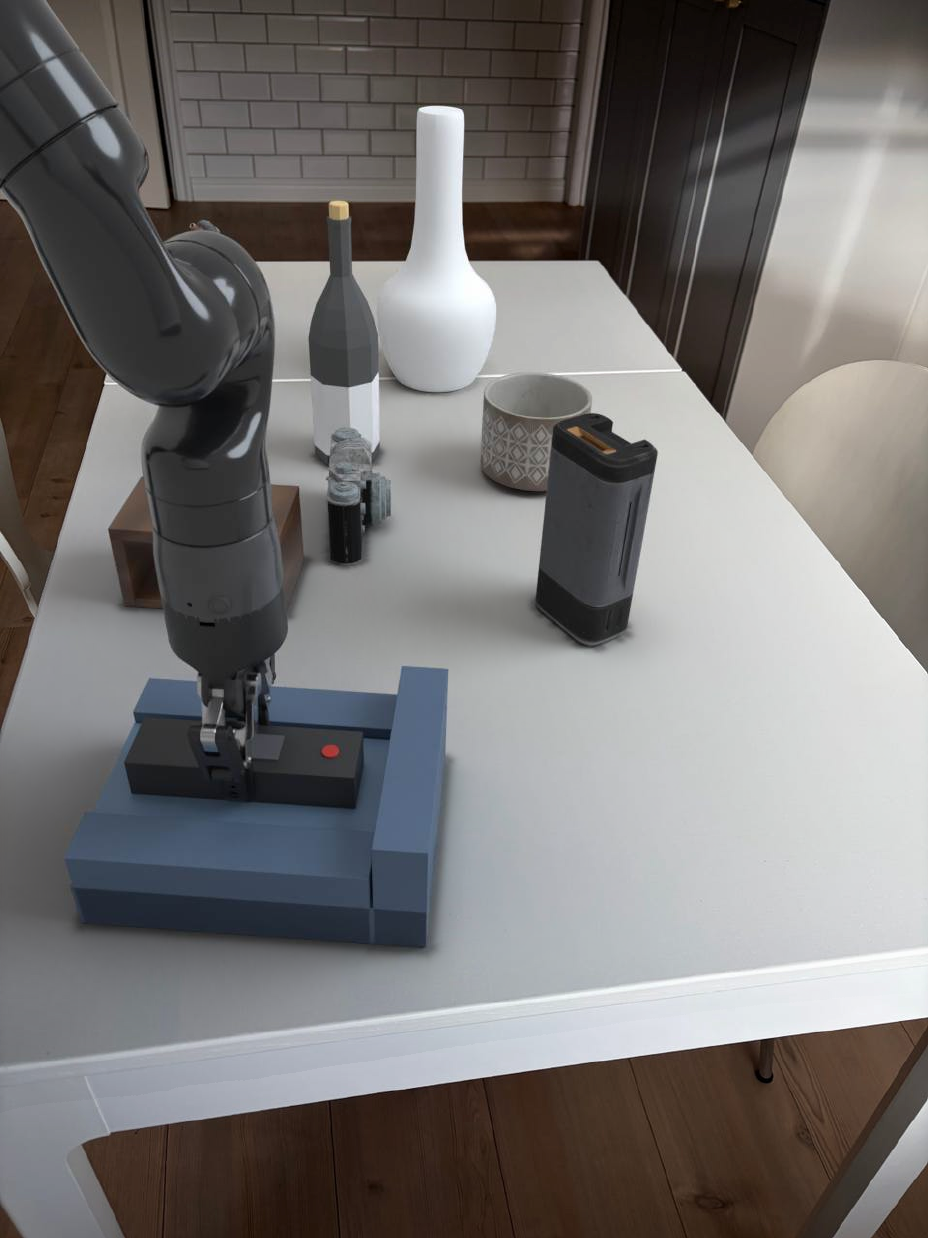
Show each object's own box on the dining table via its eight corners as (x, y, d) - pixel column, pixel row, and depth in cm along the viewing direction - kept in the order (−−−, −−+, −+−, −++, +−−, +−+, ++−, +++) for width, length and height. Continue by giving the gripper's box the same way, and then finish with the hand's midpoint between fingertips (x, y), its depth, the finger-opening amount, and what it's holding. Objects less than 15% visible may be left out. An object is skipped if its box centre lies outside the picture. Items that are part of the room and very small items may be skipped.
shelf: (124, 606, 97) (107, 528, 92) (155, 550, 105) (141, 476, 100) (285, 616, 97) (278, 539, 92) (304, 559, 105) (299, 485, 100)
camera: (391, 565, 105) (391, 482, 99) (327, 565, 104) (322, 482, 98) (390, 494, 117) (389, 416, 110) (332, 494, 116) (328, 415, 110)
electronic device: (633, 632, 97) (667, 449, 85) (587, 652, 94) (614, 466, 82) (573, 585, 103) (596, 407, 91) (528, 602, 100) (545, 422, 88)
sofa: (81, 923, 69) (50, 827, 63) (159, 740, 83) (140, 648, 77) (426, 948, 68) (428, 853, 62) (445, 760, 82) (448, 668, 76)
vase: (500, 360, 149) (516, 102, 128) (482, 406, 136) (497, 128, 115) (392, 348, 151) (390, 92, 130) (364, 393, 138) (357, 117, 117)
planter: (462, 482, 119) (466, 402, 113) (504, 440, 129) (509, 364, 122) (560, 509, 115) (569, 427, 109) (596, 463, 125) (606, 385, 118)
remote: (131, 794, 70) (122, 760, 68) (150, 748, 74) (143, 715, 72) (355, 809, 70) (353, 776, 68) (364, 762, 74) (363, 729, 72)
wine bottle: (318, 471, 120) (303, 214, 102) (312, 440, 126) (297, 193, 108) (384, 467, 122) (381, 212, 103) (375, 437, 128) (371, 192, 110)
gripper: (193, 514, 67) (221, 702, 77) (123, 646, 56) (167, 846, 66) (303, 520, 67) (317, 708, 77) (256, 655, 55) (279, 854, 66)
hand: (248, 771), depth 71 cm, fingers closed on remote, 4 cm apart
